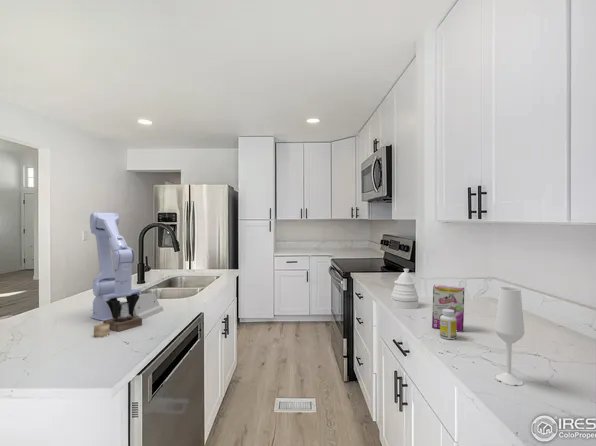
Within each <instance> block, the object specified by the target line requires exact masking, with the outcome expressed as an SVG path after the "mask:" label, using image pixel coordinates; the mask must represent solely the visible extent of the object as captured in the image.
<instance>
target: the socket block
mask: <svg viewBox="0 0 596 446" xmlns="http://www.w3.org/2000/svg"><path fill="white" fill-rule="evenodd" d="M102 324H110V331H111V330H112V331H115V332H118V333H120V332H123V331H126V330H130V329H133V328H137V327H139V326H140V327H141V326H142V325H143V320H142V318H138V317H134V316H129V320H128V321H124V322H117V319H115V318H112V319H108V320H104V321H102Z"/></svg>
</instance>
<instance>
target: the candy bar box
mask: <svg viewBox="0 0 596 446" xmlns="http://www.w3.org/2000/svg"><path fill="white" fill-rule="evenodd" d="M443 309H451V310H454V317H455V318H456V330H458V331H457V332H459V331H463V332H464V324H465V323H464V322H465V321H464V320H465V319H464V317H465V313H464V312H465V287H462V286H452V285H445V284H444V285H442V284H434V285H433V288H432V317H431V318H432V320H431V322H432V323H431V327H432V329H439V330H440V316H442V315H443V314H442V310H443Z"/></svg>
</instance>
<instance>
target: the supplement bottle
mask: <svg viewBox="0 0 596 446" xmlns="http://www.w3.org/2000/svg"><path fill="white" fill-rule="evenodd" d="M442 314H443V315H442V316H440V329H439V336H440V338H442V339H444V340H449V339H453V340H456V339H457V331H456V318H455V317H454V310H451V309H443V310H442ZM455 338H456V339H455Z"/></svg>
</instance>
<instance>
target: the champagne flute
mask: <svg viewBox="0 0 596 446" xmlns="http://www.w3.org/2000/svg"><path fill="white" fill-rule="evenodd" d="M497 297H498V298H497V306H496V314H495V320H494V321H495V322H494V331H495V334H496V335H497V336H498V337H499V338H500V339H501V340H502V341H503V342H505V344H506V345H505V347H506V350H505V351H506V353H505V356H506V357H505V372H501V373H498V375H497V374H495V375H496V378H497V379H498V380H501V381H503V382H505V383H508V384H519V383H520V382H521V379H520V378H518V377H517V376H516V375H514V374H513V373H512V347H513V346H512V345H513V344H515V343H516V342H518V341H519V340H521V339H522V338H524V335H525V323H524V311H523V302H522V301H523V300H522V291H521V289H520V288H518V287H517V288H516V287H508V286H501V287H499V289H498V296H497Z"/></svg>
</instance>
